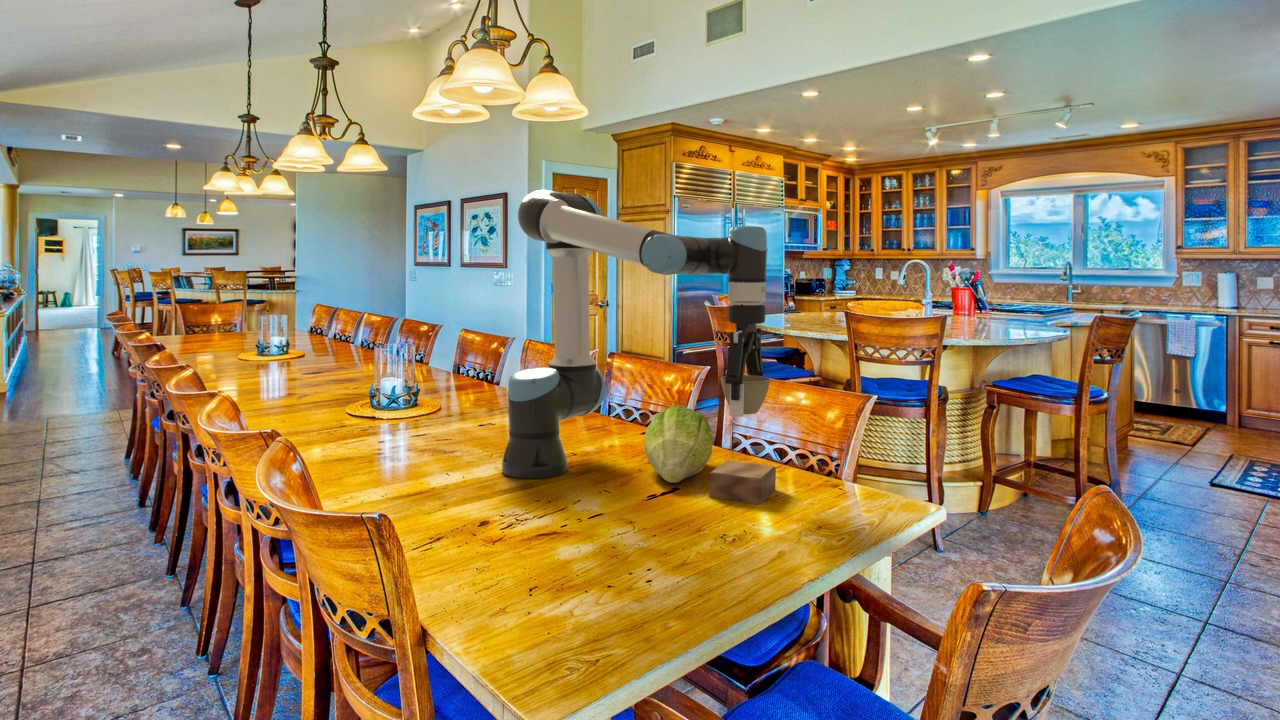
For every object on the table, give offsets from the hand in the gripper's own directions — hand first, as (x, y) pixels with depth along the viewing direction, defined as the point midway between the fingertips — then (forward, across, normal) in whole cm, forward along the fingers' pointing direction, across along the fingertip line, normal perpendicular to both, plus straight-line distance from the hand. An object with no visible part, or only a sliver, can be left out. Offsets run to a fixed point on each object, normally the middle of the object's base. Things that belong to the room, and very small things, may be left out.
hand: (744, 411), depth 145 cm
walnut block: (+18, 0, 0) cm, 18 cm away
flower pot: (0, 0, 0) cm, 0 cm away
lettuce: (+18, +7, +18) cm, 26 cm away
